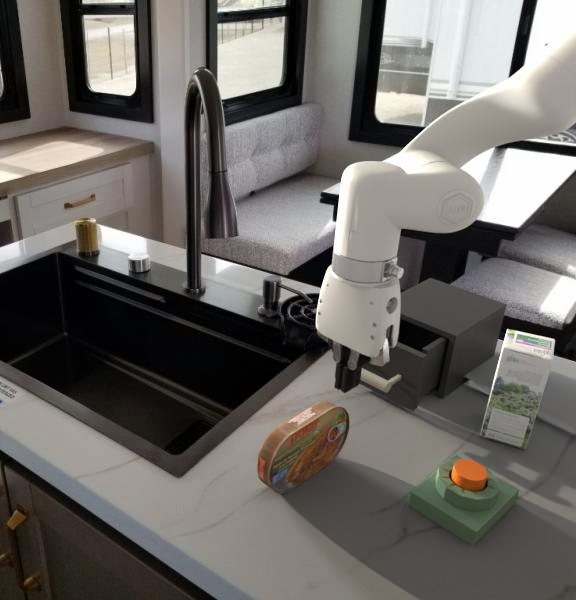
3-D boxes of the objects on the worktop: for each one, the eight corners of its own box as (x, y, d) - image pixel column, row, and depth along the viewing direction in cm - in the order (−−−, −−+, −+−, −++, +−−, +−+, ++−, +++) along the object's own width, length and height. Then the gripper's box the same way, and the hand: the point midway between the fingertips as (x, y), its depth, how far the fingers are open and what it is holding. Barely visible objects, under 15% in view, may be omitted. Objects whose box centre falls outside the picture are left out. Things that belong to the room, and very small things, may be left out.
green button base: (452, 467, 81) (458, 443, 79) (515, 503, 75) (523, 477, 74) (407, 505, 75) (413, 479, 73) (472, 546, 70) (480, 519, 68)
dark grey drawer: (395, 423, 87) (404, 369, 83) (327, 387, 95) (333, 335, 91) (462, 376, 98) (474, 325, 94) (396, 346, 106) (404, 298, 102)
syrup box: (529, 427, 88) (556, 336, 81) (525, 452, 83) (554, 358, 77) (484, 415, 90) (507, 325, 84) (478, 438, 86) (502, 346, 79)
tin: (269, 506, 75) (273, 450, 72) (250, 491, 78) (253, 436, 74) (348, 451, 84) (355, 399, 80) (329, 439, 86) (335, 388, 82)
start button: (460, 466, 76) (463, 454, 75) (490, 482, 73) (493, 470, 73) (444, 479, 74) (447, 468, 73) (474, 497, 71) (477, 485, 71)
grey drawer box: (442, 399, 94) (456, 336, 89) (369, 363, 103) (378, 304, 98) (491, 364, 102) (506, 304, 97) (420, 333, 111) (430, 277, 106)
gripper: (434, 274, 76) (410, 401, 84) (333, 239, 86) (320, 355, 94) (398, 292, 72) (376, 424, 80) (296, 253, 82) (286, 373, 90)
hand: (346, 386), depth 87 cm, fingers closed
